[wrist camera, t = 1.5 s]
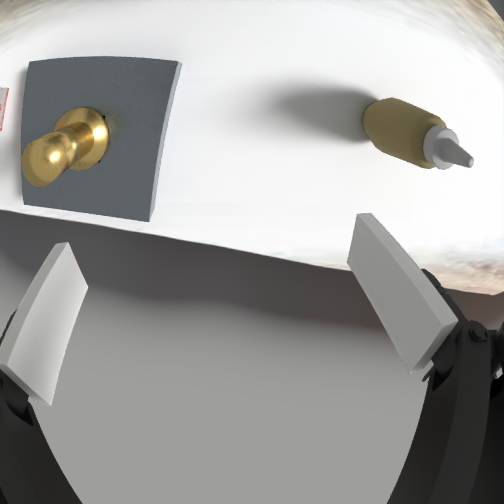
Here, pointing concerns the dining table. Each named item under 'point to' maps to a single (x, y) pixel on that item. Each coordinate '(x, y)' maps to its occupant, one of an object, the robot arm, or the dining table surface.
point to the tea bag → (2, 104)
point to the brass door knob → (66, 147)
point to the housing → (119, 123)
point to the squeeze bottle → (413, 135)
